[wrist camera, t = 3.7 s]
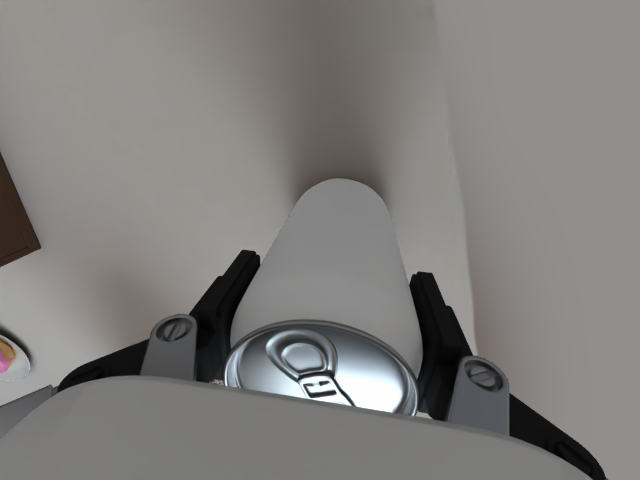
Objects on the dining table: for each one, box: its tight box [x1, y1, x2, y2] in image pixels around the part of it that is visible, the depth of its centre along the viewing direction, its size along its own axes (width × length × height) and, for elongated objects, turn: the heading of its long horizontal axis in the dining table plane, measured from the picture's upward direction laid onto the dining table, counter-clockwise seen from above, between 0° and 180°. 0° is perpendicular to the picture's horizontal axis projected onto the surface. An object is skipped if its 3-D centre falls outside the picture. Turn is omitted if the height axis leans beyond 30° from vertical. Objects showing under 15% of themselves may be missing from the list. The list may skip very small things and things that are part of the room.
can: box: [223, 178, 423, 416], centre depth 13 cm, size 6×6×12 cm
